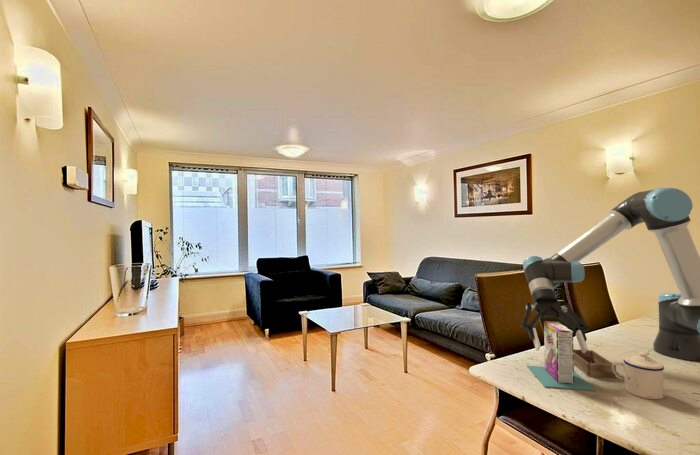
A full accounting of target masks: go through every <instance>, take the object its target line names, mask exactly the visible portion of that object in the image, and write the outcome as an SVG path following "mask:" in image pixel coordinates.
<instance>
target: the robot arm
mask: <svg viewBox="0 0 700 455" xmlns="http://www.w3.org/2000/svg"><path fill="white" fill-rule="evenodd" d="M693 207H694V206H693V201H692V199H691V197H690V195H688V194H687V193H686V192H685V191H683V190H682V189H678V188H674V187H659V188H654V189H650V190H649V189H648V190H644V191H638V192H636V193H634V194H632V195H630V196H628V197H627V198H626V199H624V200H623V201H621V202H619V204H618V205H616V206H615V207H613V208H612V209H610V210H609V212H608V215H607V216H606V217H604V218H603V219H602V220H600V221H599V222H598V223H596V224H595V225H593V226H592V227H591V228H589V229H588V230H587V231H585V232H583V233H582V234H581V235H579V236H578V237H576V239H574V240H572V241H571V242H569V244H567V245H566V246H565V247H563V248H562V249H560V250H558V251H557V252H556V253H555V254H553V255H552V256H550V257H547V258H544V259H543V258H542V257H540V256H538V255H532V256H528V257H526V258H525V259H524V260H523V262H522V267H523V273H524V275H525V279H526V281H527V284H528V288H529V292H530V294H531V298H532V301H533V304H531V303H530V302H527V303H526V305H525V314H524V317H523V320H522V323H521V326H520V329H521V330H525V331H526V332H527V333H528V338H529V339H530V341H532V342H533V345H534V348H535V351H539V350H540V349H541V347H542V346H541V342H540V339H539V337H538V333H537V329H536V327H535V326H536V325H537V323H538V322H539V321H540V319H541V318H542V317H543V318H545V319H549V318H551V319H557V320H559V321H561V322H563V323H564V324H565V326H567V327H568V328H569V329H570V328H571V330H572V331H573V332H575V337H576V339H577V343H578V345H579V347H580V350H581V351H582V353H585V352H586V351H587V350H589V347H588V346H587V343H586V342H587V340H588V339H587V336H586V333H587V332H588V330H589V329H590V327H589V325H588V324H587V323H586V322H584V319H582V318H581V317H580V316H579V315H578V314H577V313H576V312H575V311H574V310H573V309H572V306H570V304H568V303H566V304H565V305H560V303H559V300H558V298H557V295H556V292H555V290H554V286H553V283H581V282H583V281H584V279H585V277H586V276H585V275H586V274H585V273H586V272H585V267H584V265H583V264H582V263H581V262H580V261H582V260H584V259H585V258H586V257H588V256H589V255H591V254H592V253H593V252H595V251H596V250H598V249H599V248H601V247H603V245H605V244H606V243H607V242H609V241H610V240H612V239H613V238H614V237H616V236H617V235H619V234H620V233H621V232H623V231H624V230H629V231H630V230H631V229H632V228H634V227H635V226H637V225H639V224H643V223H644V224H645V226H646V229H647V231H649V232H651V233H653V234H655V237H656V239H657V242H658V244H659V246H660V249H661V251H662V253H663V256H664V258H665V260H666V263H667V265H668V267H669V271H670V272H671V275H672V277H673V280H674V282H675V286H676V287H677V289H678V292H679V293H661V294H659V295H658V301H657V303H658V331H657V334H656V336H655V339H654V341H653V343H652V344H653V348H652V349H653V350H654V352H656V353H658V354H661V355H664V356H666V357H667V356H668V357H670V358H675V359H681V360H687V361H694V362H696V361H700V254H699V252H698V250H697V247H696V245H695V243H694V240H693V238H692V236H691V233H690V230H689V229H688V225H689V224H690V223H691V218H690V214H691V213H692V212H691V211H692V210H693ZM532 311H536V312H537V314H536V315H535V317H534V318H533V319H532V320H531V321H530V323H529V324H528V321H529V317H530V315H531V312H532Z"/></svg>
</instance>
